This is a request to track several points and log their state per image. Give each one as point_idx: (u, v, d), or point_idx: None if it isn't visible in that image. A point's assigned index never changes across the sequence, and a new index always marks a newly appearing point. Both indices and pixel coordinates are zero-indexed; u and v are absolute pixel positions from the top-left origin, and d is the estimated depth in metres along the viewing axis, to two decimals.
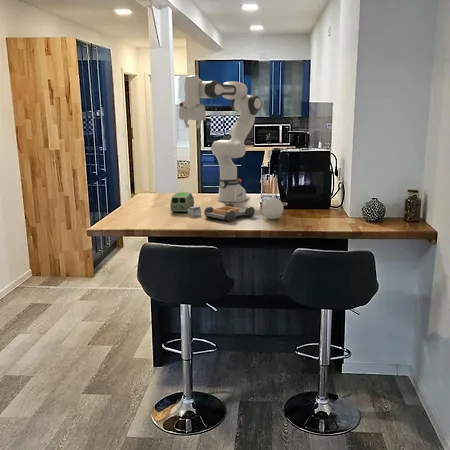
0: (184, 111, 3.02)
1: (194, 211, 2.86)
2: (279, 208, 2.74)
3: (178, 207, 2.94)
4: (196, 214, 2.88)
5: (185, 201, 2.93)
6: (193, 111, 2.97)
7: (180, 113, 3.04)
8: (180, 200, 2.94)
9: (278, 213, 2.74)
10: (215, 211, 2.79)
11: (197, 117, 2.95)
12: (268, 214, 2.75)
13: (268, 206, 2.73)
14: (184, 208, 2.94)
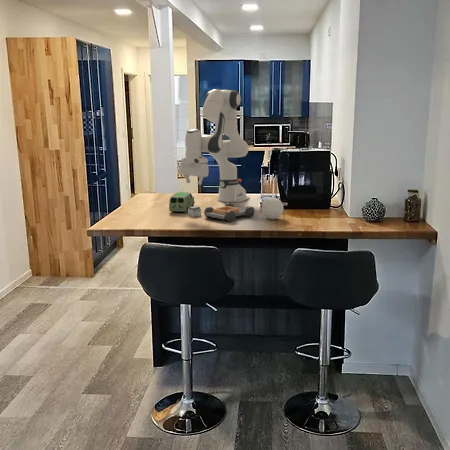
0: None
1: (194, 211, 2.86)
2: (279, 208, 2.74)
3: (176, 207, 2.95)
4: (196, 214, 2.88)
5: (183, 201, 2.94)
6: None
7: None
8: (179, 200, 2.94)
9: (278, 213, 2.74)
10: (215, 211, 2.79)
11: None
12: (268, 214, 2.75)
13: (268, 206, 2.74)
14: (182, 208, 2.94)
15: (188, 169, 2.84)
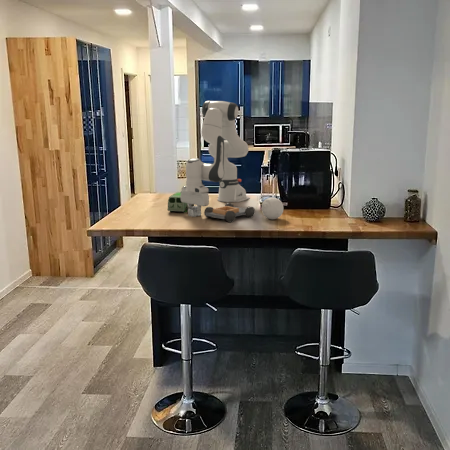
0: None
1: (194, 211, 2.86)
2: (279, 208, 2.74)
3: (175, 207, 2.95)
4: (196, 214, 2.88)
5: None
6: None
7: None
8: (177, 200, 2.94)
9: (278, 213, 2.74)
10: (215, 211, 2.79)
11: None
12: (268, 214, 2.75)
13: (268, 206, 2.74)
14: (181, 208, 2.94)
15: (189, 197, 2.88)
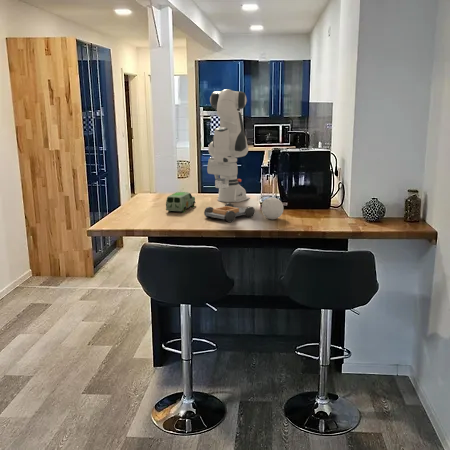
0: None
1: (222, 182, 2.75)
2: (279, 208, 2.74)
3: (173, 207, 2.96)
4: (224, 185, 2.77)
5: (180, 201, 2.94)
6: None
7: None
8: (175, 200, 2.95)
9: (278, 213, 2.74)
10: (215, 211, 2.79)
11: None
12: (268, 214, 2.75)
13: (268, 206, 2.74)
14: (179, 208, 2.95)
15: (216, 168, 2.77)
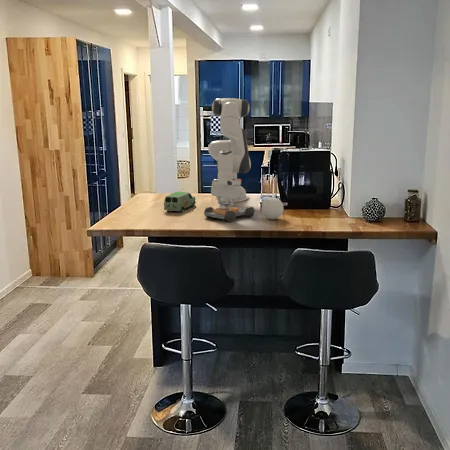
0: None
1: (226, 207, 2.78)
2: (279, 208, 2.74)
3: (170, 207, 2.96)
4: None
5: (177, 201, 2.94)
6: None
7: None
8: (173, 200, 2.95)
9: (278, 213, 2.74)
10: (215, 211, 2.79)
11: None
12: (268, 214, 2.75)
13: (268, 206, 2.74)
14: (176, 208, 2.95)
15: (220, 191, 2.79)
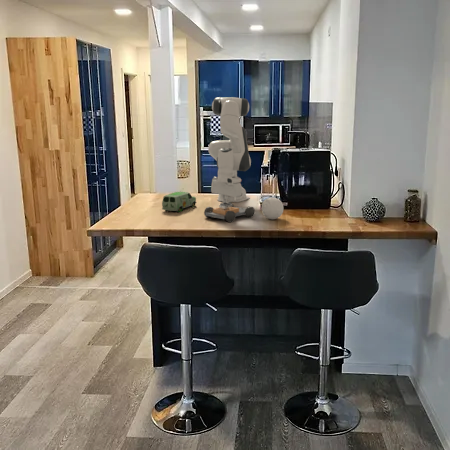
0: None
1: (226, 207, 2.78)
2: (279, 208, 2.74)
3: (168, 206, 2.97)
4: None
5: (175, 201, 2.95)
6: None
7: None
8: (171, 199, 2.96)
9: (278, 213, 2.74)
10: (215, 211, 2.79)
11: None
12: (268, 214, 2.75)
13: (268, 206, 2.74)
14: (174, 207, 2.96)
15: (220, 188, 2.79)
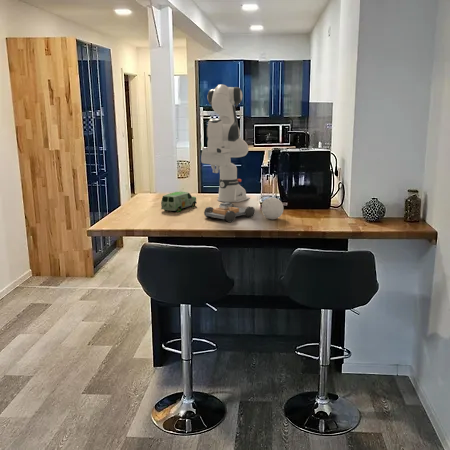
0: None
1: (226, 207, 2.78)
2: (279, 208, 2.74)
3: (167, 206, 2.98)
4: None
5: (173, 200, 2.95)
6: None
7: None
8: (169, 199, 2.97)
9: (278, 213, 2.74)
10: (215, 211, 2.79)
11: None
12: (268, 214, 2.75)
13: (268, 206, 2.74)
14: (172, 207, 2.96)
15: (210, 158, 2.87)
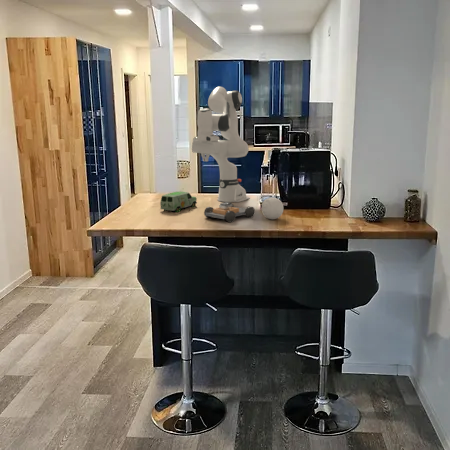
0: None
1: (226, 207, 2.78)
2: (279, 208, 2.74)
3: (166, 206, 2.98)
4: None
5: (172, 200, 2.96)
6: None
7: None
8: (168, 199, 2.97)
9: (278, 213, 2.74)
10: (215, 211, 2.79)
11: None
12: (268, 214, 2.75)
13: (268, 206, 2.73)
14: (171, 207, 2.97)
15: (200, 147, 2.96)
